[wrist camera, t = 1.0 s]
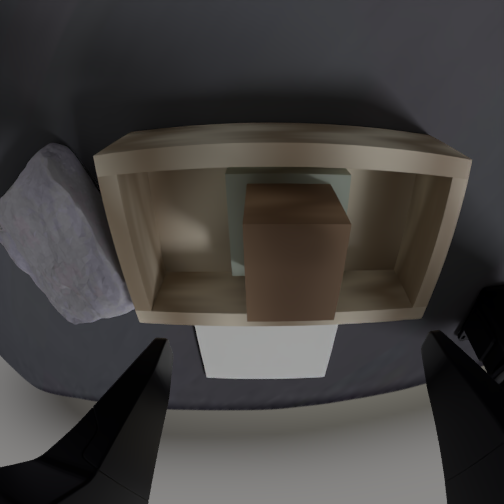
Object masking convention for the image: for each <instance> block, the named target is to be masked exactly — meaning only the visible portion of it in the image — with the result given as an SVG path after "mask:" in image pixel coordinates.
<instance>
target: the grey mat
mask: <svg viewBox="0 0 504 504" xmlns="http://www.w3.org/2000/svg"><path fill="white" fill-rule="evenodd" d="M337 327H338V324H336V325H310V326H201V325H195V329H196V334H197V338H198V343H199V347H200V351H201V355H202V360H203V364H204V368H205V372H206V376H207V378H232V379H287V378H313V377H324V376H325V373H326V369H327V365H328V362H329V358H330V354H331V351H332V347H333V343H334V339H335V335H336V331H337Z"/></svg>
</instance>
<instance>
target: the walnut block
mask: <svg viewBox="0 0 504 504" xmlns="http://www.w3.org/2000/svg"><path fill="white" fill-rule="evenodd" d="M351 225H352V224H351V222H350V220H349V218H348V216H347V214H346V212H345V211H344V209H343V207H342V205H341V203H340V201H339V199H338V197H337V195H336V193H335V191H334V190H333V188H332V186H331V184H294V183H260V184H247V187H246V196H245V206H244V215H243V246H244V268H245V289H246V309H247V322H281V321H322V320H334V317H335V313H336V308H337V303H338V298H339V293H340V288H341V283H342V278H343V273H344V267H345V262H346V256H347V250H348V244H349V238H350V232H351Z"/></svg>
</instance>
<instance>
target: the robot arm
mask: <svg viewBox="0 0 504 504" xmlns="http://www.w3.org/2000/svg"><path fill="white" fill-rule="evenodd" d="M458 339H459V340H460V341H463V340H469V341H470V343H471V345H472V347H473V349H474V351H475V353H476V355H477V357H478V359H479V361H480V362H483V364H484V367H485V369H486V371H487V373H486V371H484V370H483V369H482V368H481V367H480V366H479V365H478V364H477V363H476V362H475V361H474V360H473V359H472V358H471V357H469V356H468V355H467V354H466V353H465V352H464V351H463V350H462V349H461V348H460V347H458V346H457V345H456V344H455V343H454V342H453V341H452V340H451V339H449V338H448V337H447V336H446V335H445V334H444V333H443V332H441V331H440V330H435V331H430V332H429V333H428V335H427V337H426V339H425V341H424V343H423V345H422V348H421V353H422V359H423V365H424V371H425V378H426V384H427V389H428V394H429V398H430V403H431V407H432V411H433V416H434V421H435V425H436V430H437V435H438V441H439V446H440V452H441V458H442V464H443V471H444V478H445V486H446V496H447V504H504V286H495V287H486V288H484V289H483V290H482V291H481V293H480V295H479V297H478V299H477V301H476V303H475V305H474V307H473V309H472V311H471V313H470V315H469V316H468V318H467V320H466V322H465V324H464V326H463V327H462V329H461V331H460V333H459V335H458ZM172 366H173V353H172V350H171V347H170V344H169V341H168V339H166V338H155V339H154V340H153V341H152V342H151V343H150V344H149V345H148V347H147V348H146V349H145V350H144V351H143V352H142V353H141V354H140V355H139V356H138V357H137V359H136V360H135V361H134V362H133V363H132V364H131V365H130V366H129V367H128V369H127V370H126V371H125V372H124V373H123V374H122V375H121V376H120V377H119V378H118V380H117V381H116V382H115V383H114V384H113V385H112V386H111V387H110V388H109V390H108V391H107V392H106V393H105V394H104V395H103V396H102V397H101V398H100V400H99V401H98V402H97V403H96V404H95V405H94V406H93V408H91V410H90V411H89V412H88V413H87V414H86V415H85V416H84V417H83V418H82V419H81V421H79V423H78V424H77V425H76V426H75V427H74V428H72V429H71V430H70V431H69V432H68V433H67V434H66V435H65V436H64V437H63V438H62V439H60V440H59V441H58V442H57V443H56V444H55V445H54V446H52V447H51V448H50V449H49V450H48V451H47V452H45V453H44V454H43V455H41V456H40V457H38V458H36V459H34V460H30V461H27V462H23V463H18V464H14V465H9V466H4V467H0V504H148V500H149V495H150V489H151V484H152V479H153V474H154V468H155V463H156V458H157V453H158V448H159V443H160V438H161V434H162V429H163V424H164V420H165V415H166V410H167V406H168V401H169V394H170V384H171V375H172Z"/></svg>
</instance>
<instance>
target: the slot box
mask: <svg viewBox="0 0 504 504" xmlns="http://www.w3.org/2000/svg"><path fill="white" fill-rule="evenodd" d="M93 158H94V163H95V168H96V173H97V178H98V182H99V187H100V191H101V196H102V200H103V204H104V208H105V212H106V216H107V220H108V224H109V227H110V231H111V235H112V238H113V242H114V245H115V249H116V252H117V256H118V259H119V262H120V265H121V269H122V272H123V275H124V278H125V281H126V284H127V287H128V290H129V293H130V296H131V299H132V302H133V305H134V307H135V310H136V313H137V316H138V318H139V321H140V323H156V324H175V325H201V326H310V325H336V324H355V323H371V322H385V321H398V320H409V319H420V318H422V316H423V314H424V312H425V310H426V307H427V305H428V302H429V300H430V298H431V295H432V293H433V290H434V288H435V285H436V283H437V280H438V277H439V275H440V272H441V269H442V267H443V264H444V261H445V258H446V255H447V252H448V249H449V246H450V243H451V240H452V237H453V234H454V231H455V227H456V224H457V221H458V217H459V214H460V210H461V206H462V202H463V199H464V195H465V191H466V186H467V182H468V178H469V173H470V168H471V163H472V160H471V159H470V158H468V157H467V156H465V155H463V154H462V153H460V152H458V151H457V150H455V149H453V148H452V147H450V146H448V145H446V144H445V143H443V142H441V141H439V140H438V139H436V138H434V137H432V136H430V135H426V134H419V133H412V132H405V131H398V130H390V129H381V128H371V127H361V126H349V125H334V124H315V123H227V124H208V125H193V126H181V127H170V128H160V129H151V130H143V131H135V132H130V133H128V134H127V135H125V136H123V137H122V138H120V139H119V140H117V141H115V142H114V143H112V144H111V145H109V146H107V147H106V148H104V149H103V150H101V151H100V152H98V153H97V154H95V155H94V156H93ZM260 183H294V184H331V186H332V188H333V190H334V191H335V193H336V195H337V197H338V199H339V201H340V203H341V205H342V207H343V209H344V211H345V212H346V214H347V216H348V218H349V220H350V222H351V224H352V225H351V232H350V238H349V244H348V250H347V256H346V262H345V267H344V273H343V278H342V283H341V288H340V293H339V298H338V303H337V308H336V313H335V317H334V320H322V321H281V322H247V309H246V289H245V268H244V246H243V215H244V206H245V196H246V187H247V184H260Z"/></svg>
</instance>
